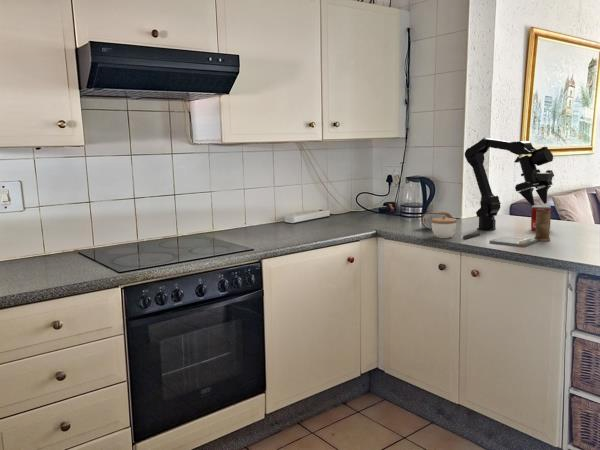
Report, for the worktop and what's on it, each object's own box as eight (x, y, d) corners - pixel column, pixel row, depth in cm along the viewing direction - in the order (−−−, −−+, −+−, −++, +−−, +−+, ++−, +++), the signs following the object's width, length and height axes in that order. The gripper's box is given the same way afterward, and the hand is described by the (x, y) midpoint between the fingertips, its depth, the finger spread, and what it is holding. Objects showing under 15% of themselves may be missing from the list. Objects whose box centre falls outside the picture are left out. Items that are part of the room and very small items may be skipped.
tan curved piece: (453, 229, 251) (453, 212, 250) (451, 230, 249) (451, 213, 248) (423, 227, 260) (423, 210, 259) (420, 228, 258) (420, 211, 256)
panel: (489, 243, 217) (489, 240, 217) (503, 238, 226) (503, 235, 226) (523, 246, 207) (523, 244, 207) (537, 241, 216) (537, 239, 216)
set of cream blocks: (519, 243, 210) (519, 240, 209) (527, 240, 215) (527, 237, 215) (522, 243, 209) (523, 240, 208) (530, 240, 214) (530, 237, 214)
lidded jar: (427, 238, 233) (427, 216, 231) (436, 234, 242) (436, 213, 240) (451, 239, 227) (451, 218, 225) (459, 235, 236) (460, 214, 234)
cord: (465, 239, 226) (465, 235, 226) (462, 239, 227) (462, 235, 227) (480, 235, 235) (480, 231, 235) (477, 234, 237) (477, 231, 236)
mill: (531, 240, 220) (532, 210, 218) (537, 238, 224) (538, 208, 222) (546, 242, 216) (548, 211, 214) (552, 239, 220) (553, 209, 218)
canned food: (551, 231, 239) (552, 206, 237) (532, 231, 241) (533, 207, 239) (547, 228, 247) (548, 204, 245) (529, 228, 248) (530, 204, 246)
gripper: (533, 164, 216) (544, 201, 214) (558, 162, 227) (569, 197, 225) (510, 172, 226) (520, 208, 224) (535, 170, 236) (545, 204, 234)
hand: (539, 204), depth 226 cm, fingers open, 9 cm apart
